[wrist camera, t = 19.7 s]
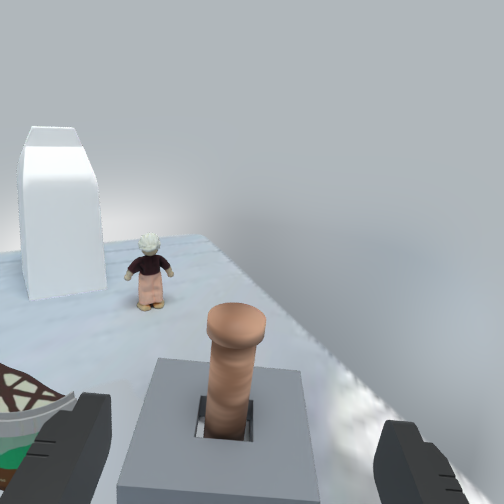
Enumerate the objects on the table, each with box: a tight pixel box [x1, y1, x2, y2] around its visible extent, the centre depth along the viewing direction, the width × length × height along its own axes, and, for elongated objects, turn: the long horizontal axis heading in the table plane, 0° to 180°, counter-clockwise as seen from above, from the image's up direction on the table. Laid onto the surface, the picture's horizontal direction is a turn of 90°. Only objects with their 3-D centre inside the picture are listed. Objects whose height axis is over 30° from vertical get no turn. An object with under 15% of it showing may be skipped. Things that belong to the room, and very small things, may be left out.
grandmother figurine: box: [124, 233, 174, 311], centre depth 68 cm, size 8×4×13 cm, turn 128°
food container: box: [0, 363, 77, 491], centre depth 39 cm, size 12×6×10 cm, turn 64°
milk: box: [17, 126, 107, 301], centre depth 71 cm, size 12×12×26 cm
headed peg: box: [203, 303, 266, 441], centre depth 44 cm, size 6×6×16 cm
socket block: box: [117, 358, 320, 504], centre depth 47 cm, size 18×18×3 cm
